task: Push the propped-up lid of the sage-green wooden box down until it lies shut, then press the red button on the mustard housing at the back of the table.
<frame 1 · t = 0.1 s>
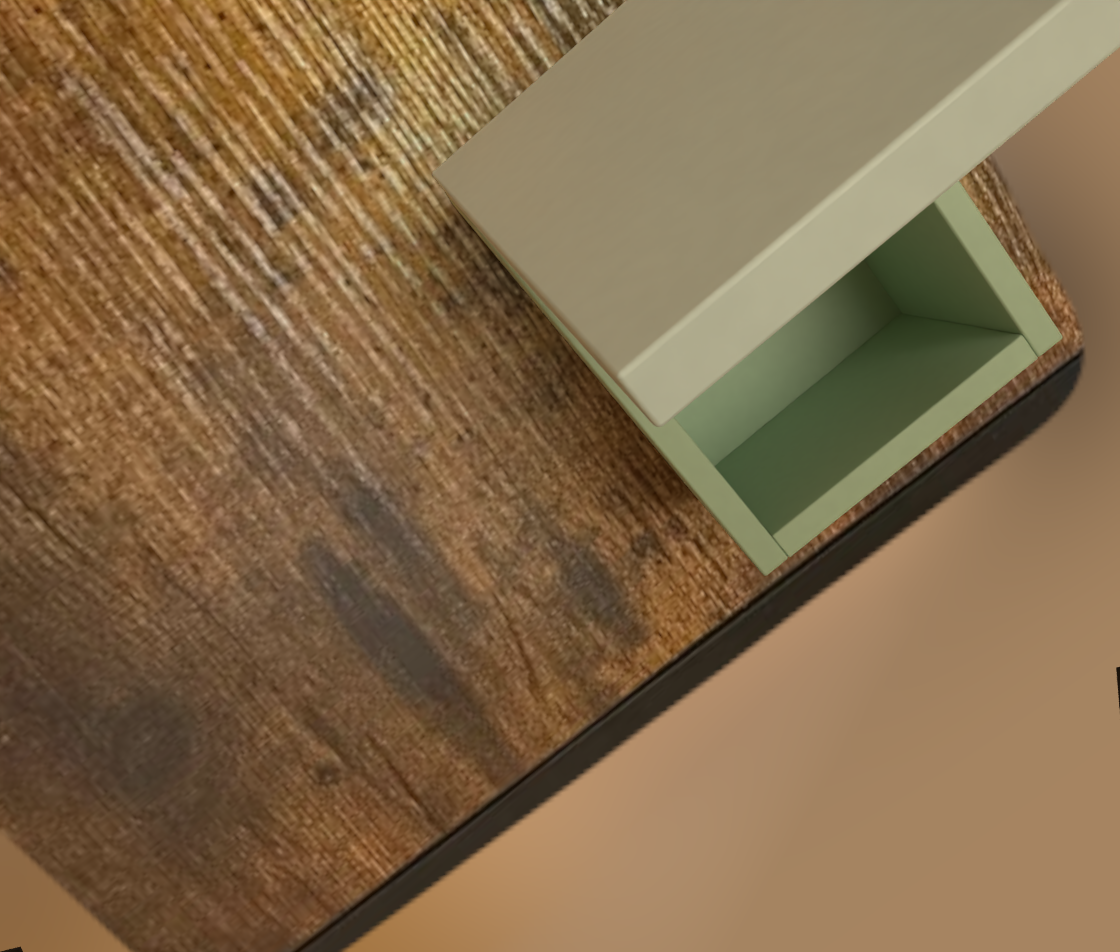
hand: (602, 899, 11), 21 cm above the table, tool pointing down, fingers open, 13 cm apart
hatch box: (695, 259, 30), on the table
hatch lid: (734, 53, 15), point 15 cm above the table, hinge at 75.0°
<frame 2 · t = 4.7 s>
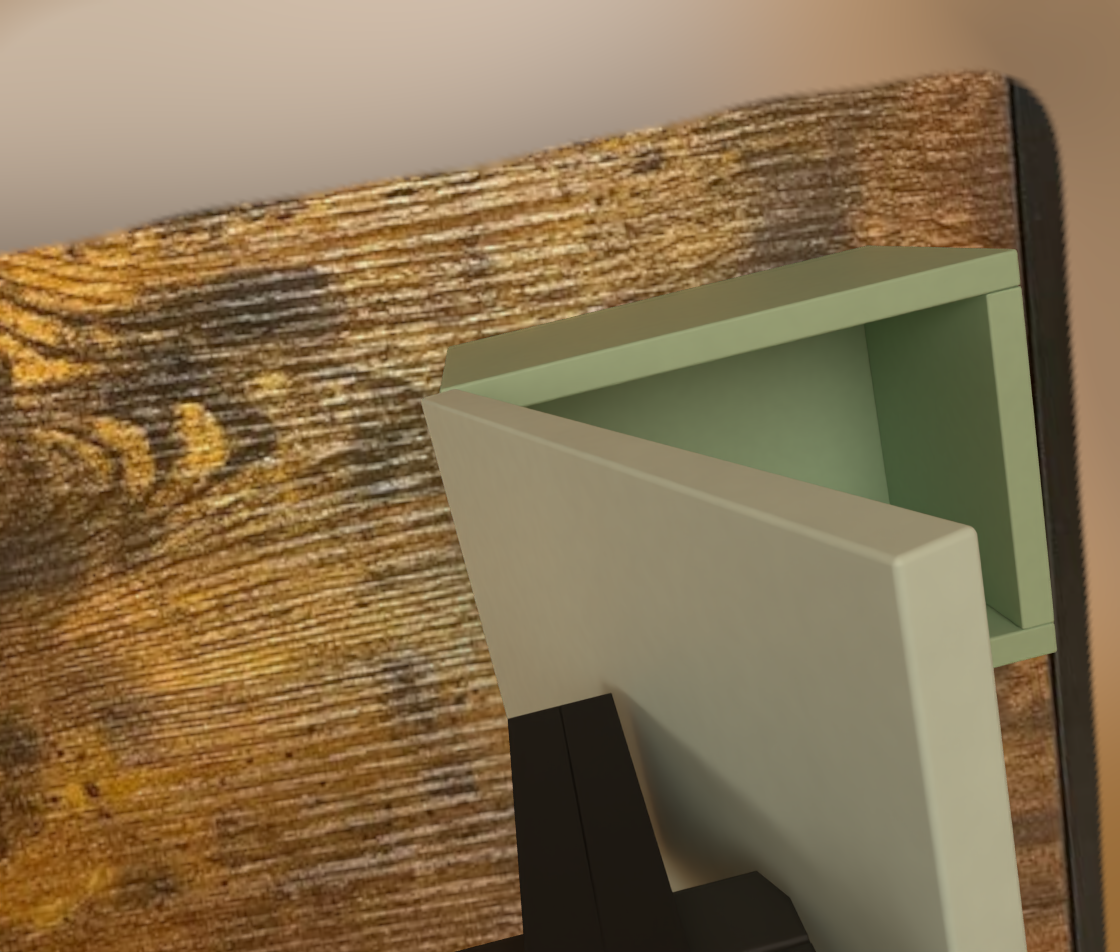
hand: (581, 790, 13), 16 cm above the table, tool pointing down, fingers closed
hatch box: (690, 452, 29), on the table
hatch lid: (640, 735, 14), point 15 cm above the table, hinge at 72.2°, touching gripper
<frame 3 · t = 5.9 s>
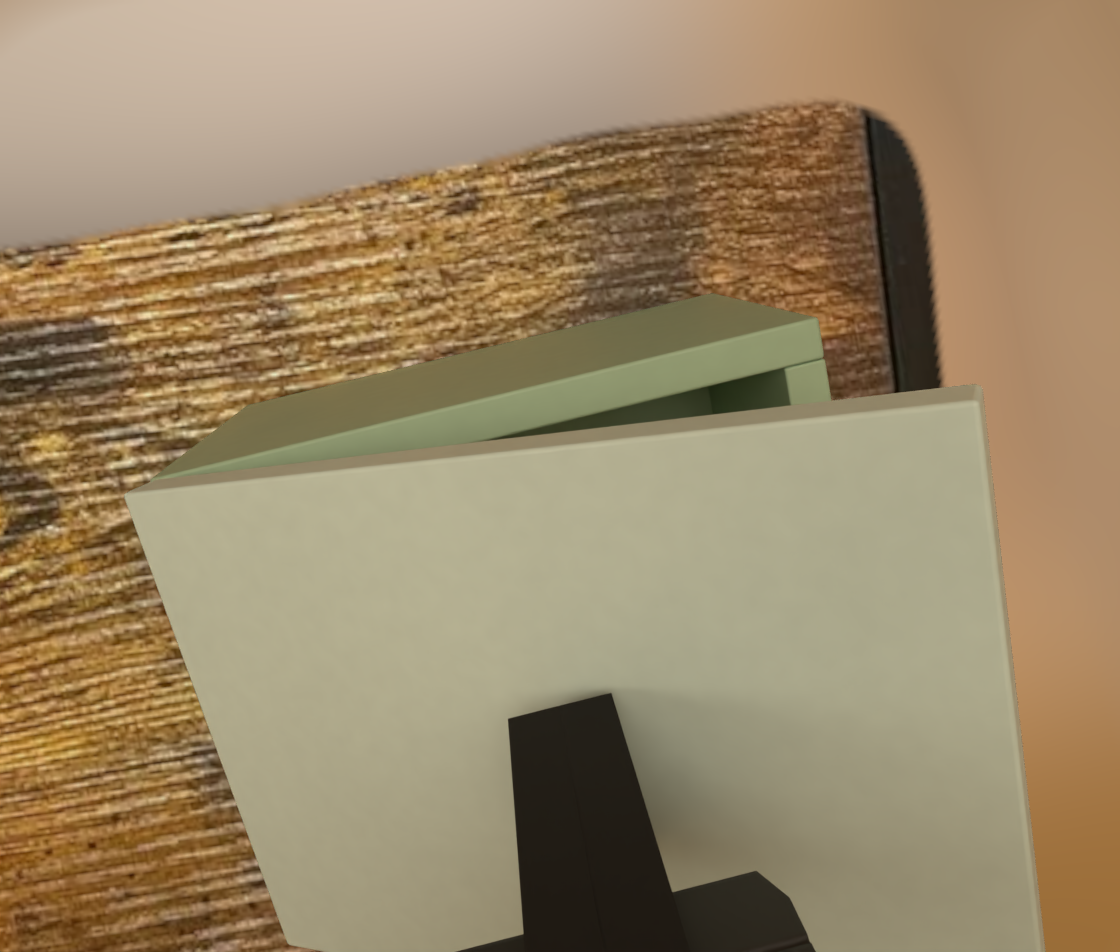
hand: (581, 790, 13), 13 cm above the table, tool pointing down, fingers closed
hatch box: (524, 518, 26), on the table
hatch lid: (539, 741, 15), point 12 cm above the table, hinge at 30.5°, touching gripper
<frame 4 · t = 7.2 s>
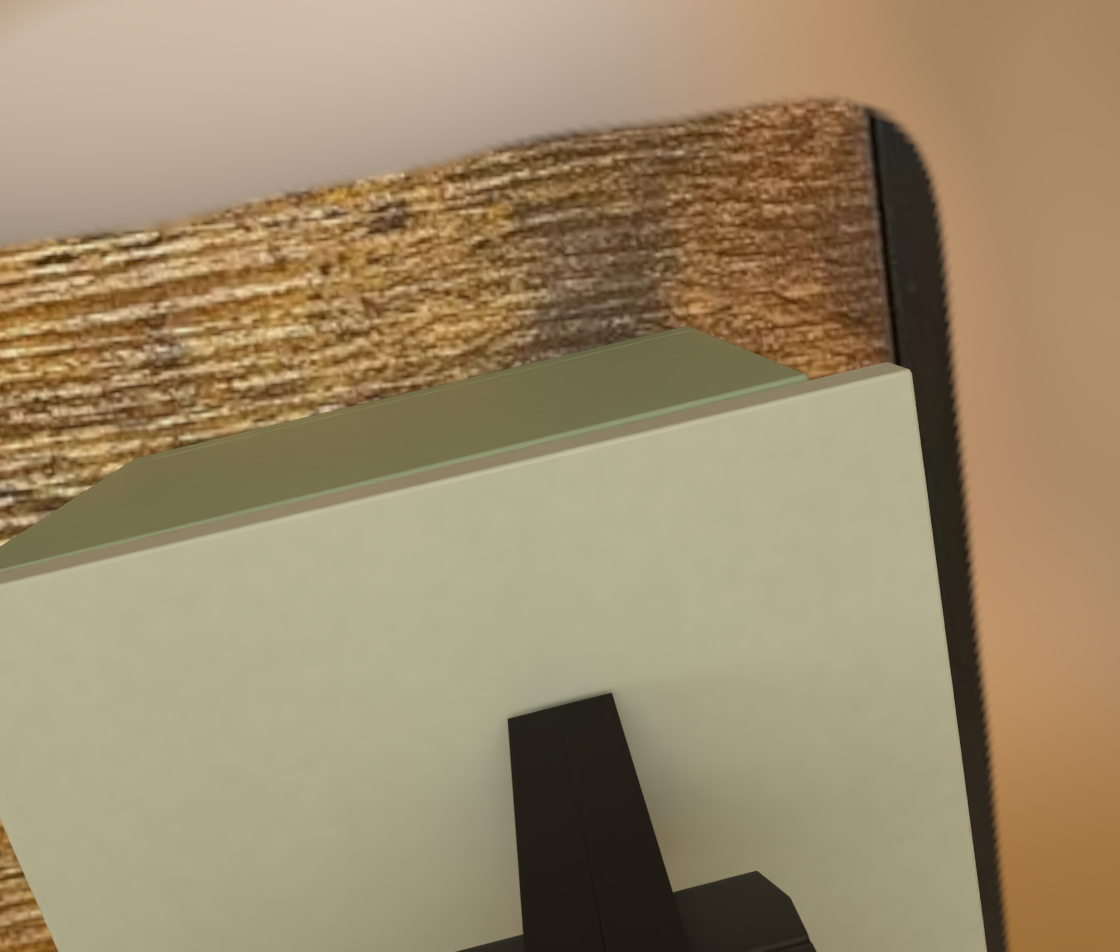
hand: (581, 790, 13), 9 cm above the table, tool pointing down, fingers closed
hatch box: (467, 588, 22), on the table
hatch lid: (497, 784, 14), point 8 cm above the table, hinge at 1.5°, touching gripper
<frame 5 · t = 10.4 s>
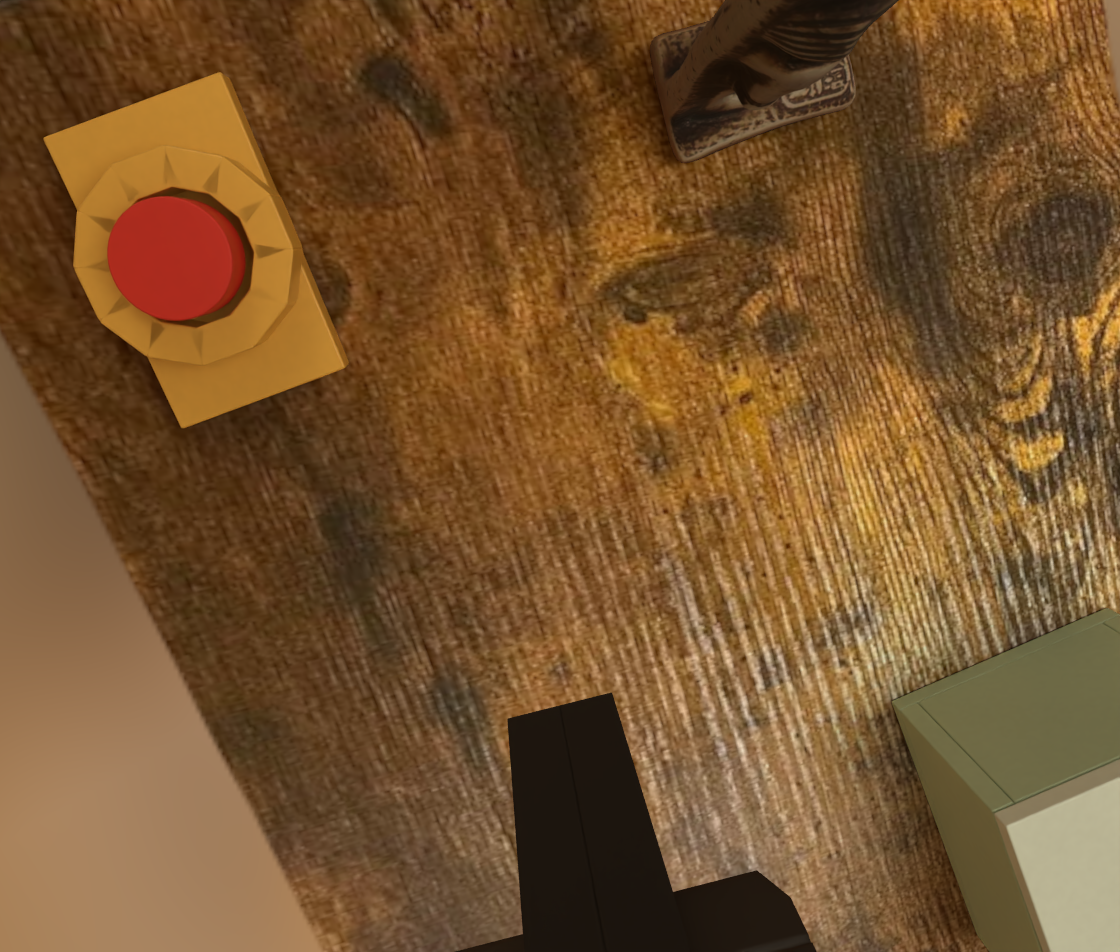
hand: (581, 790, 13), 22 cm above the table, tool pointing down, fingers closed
button block: (209, 257, 32), on the table
hatch box: (1039, 777, 40), on the table
statue: (732, 82, 33), on the table
button: (178, 258, 29), point 4 cm above the table, slide at 0.2 cm
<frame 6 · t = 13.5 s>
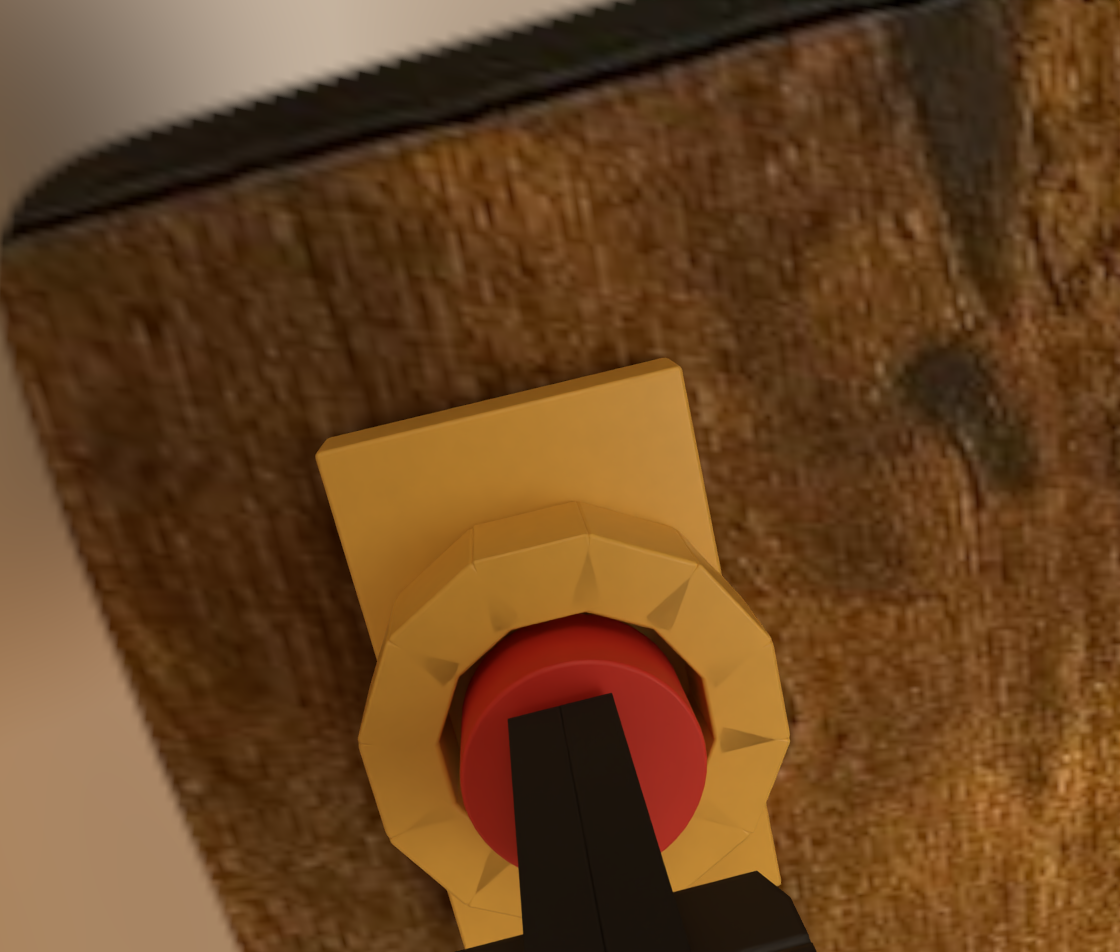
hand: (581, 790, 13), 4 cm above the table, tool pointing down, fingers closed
button block: (561, 658, 17), on the table
button: (579, 744, 15), point 3 cm above the table, slide at -0.3 cm, touching gripper
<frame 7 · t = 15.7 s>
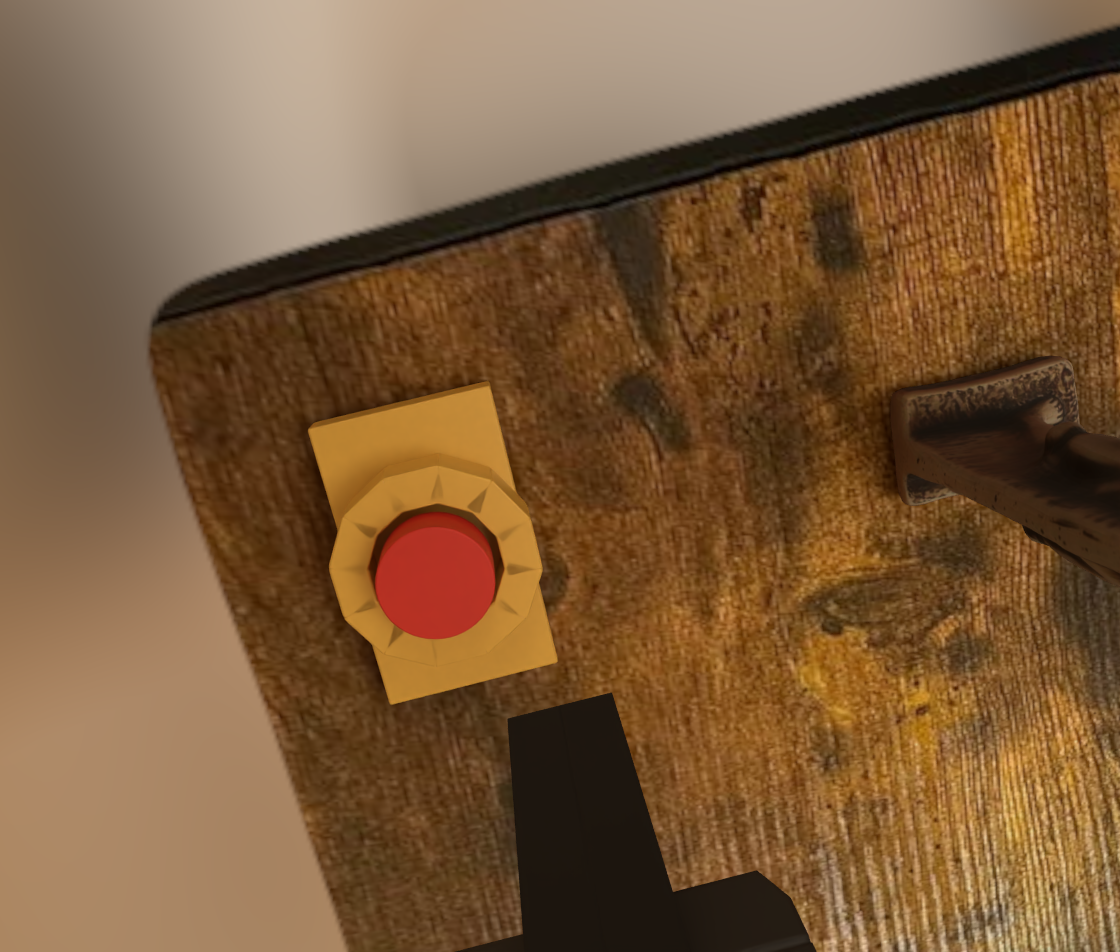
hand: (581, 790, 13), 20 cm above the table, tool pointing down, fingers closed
button block: (438, 540, 33), on the table
statue: (957, 427, 34), on the table
button: (436, 574, 29), point 4 cm above the table, slide at 0.1 cm
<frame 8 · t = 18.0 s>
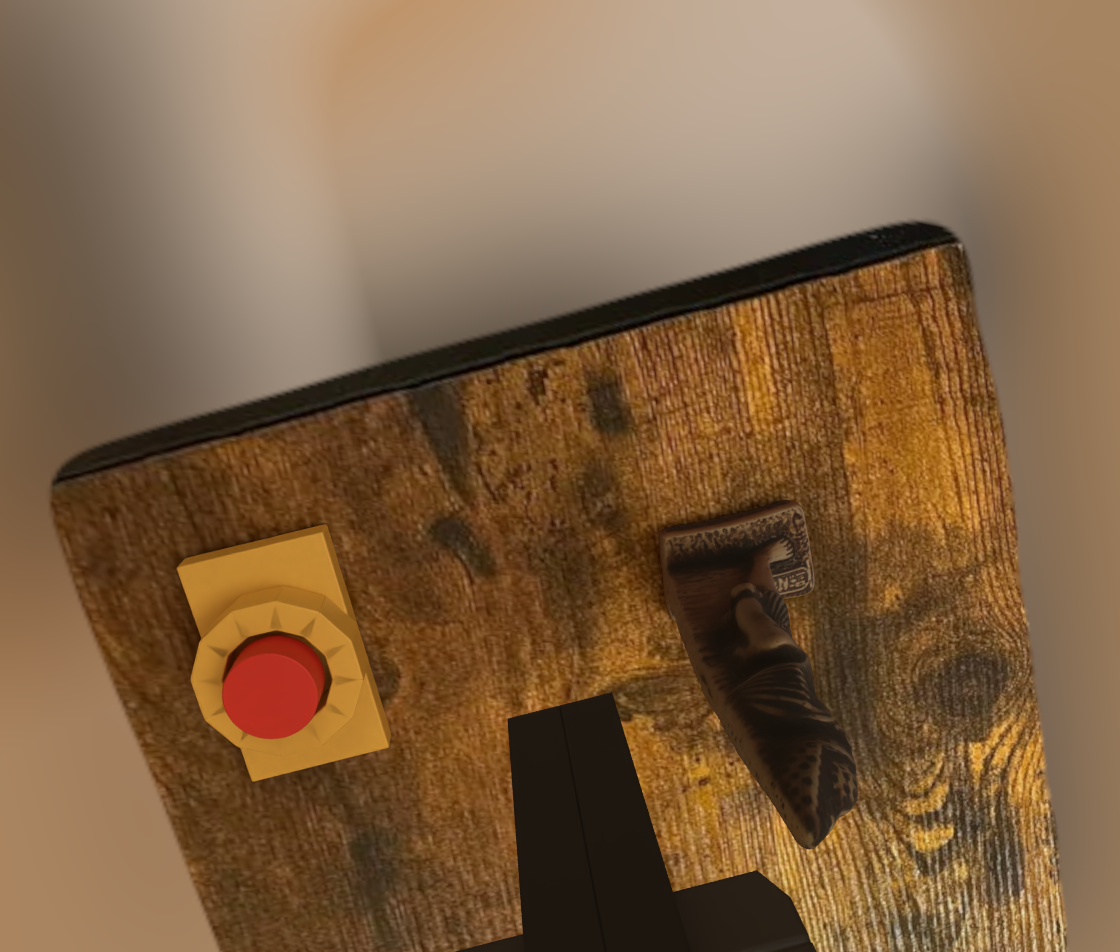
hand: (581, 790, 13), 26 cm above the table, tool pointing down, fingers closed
button block: (291, 649, 40), on the table
statue: (720, 554, 41), on the table
button: (274, 686, 37), point 4 cm above the table, slide at 0.1 cm
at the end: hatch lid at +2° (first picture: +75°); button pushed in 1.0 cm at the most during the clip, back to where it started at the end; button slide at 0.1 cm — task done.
